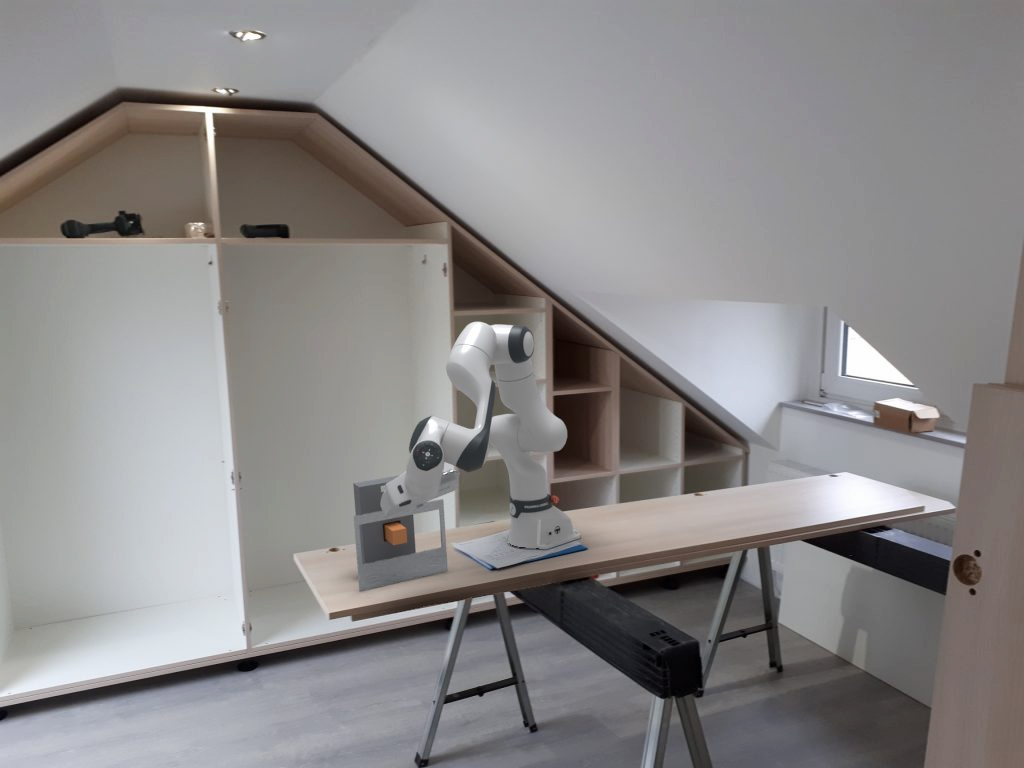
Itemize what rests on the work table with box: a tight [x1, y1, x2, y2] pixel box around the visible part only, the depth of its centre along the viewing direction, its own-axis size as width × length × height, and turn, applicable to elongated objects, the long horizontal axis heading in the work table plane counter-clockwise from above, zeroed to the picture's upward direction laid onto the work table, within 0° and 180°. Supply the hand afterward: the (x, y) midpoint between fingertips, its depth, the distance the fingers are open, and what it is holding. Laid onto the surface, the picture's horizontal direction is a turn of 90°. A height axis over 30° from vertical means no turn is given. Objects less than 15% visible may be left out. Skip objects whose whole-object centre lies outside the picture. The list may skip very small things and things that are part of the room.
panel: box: [352, 475, 417, 564], centre depth 235 cm, size 7×15×26 cm, turn 118°
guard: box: [353, 498, 449, 592], centre depth 231 cm, size 8×25×20 cm, turn 118°
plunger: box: [384, 522, 407, 545], centre depth 232 cm, size 7×4×4 cm, turn 28°
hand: (417, 505), depth 219 cm, fingers closed
